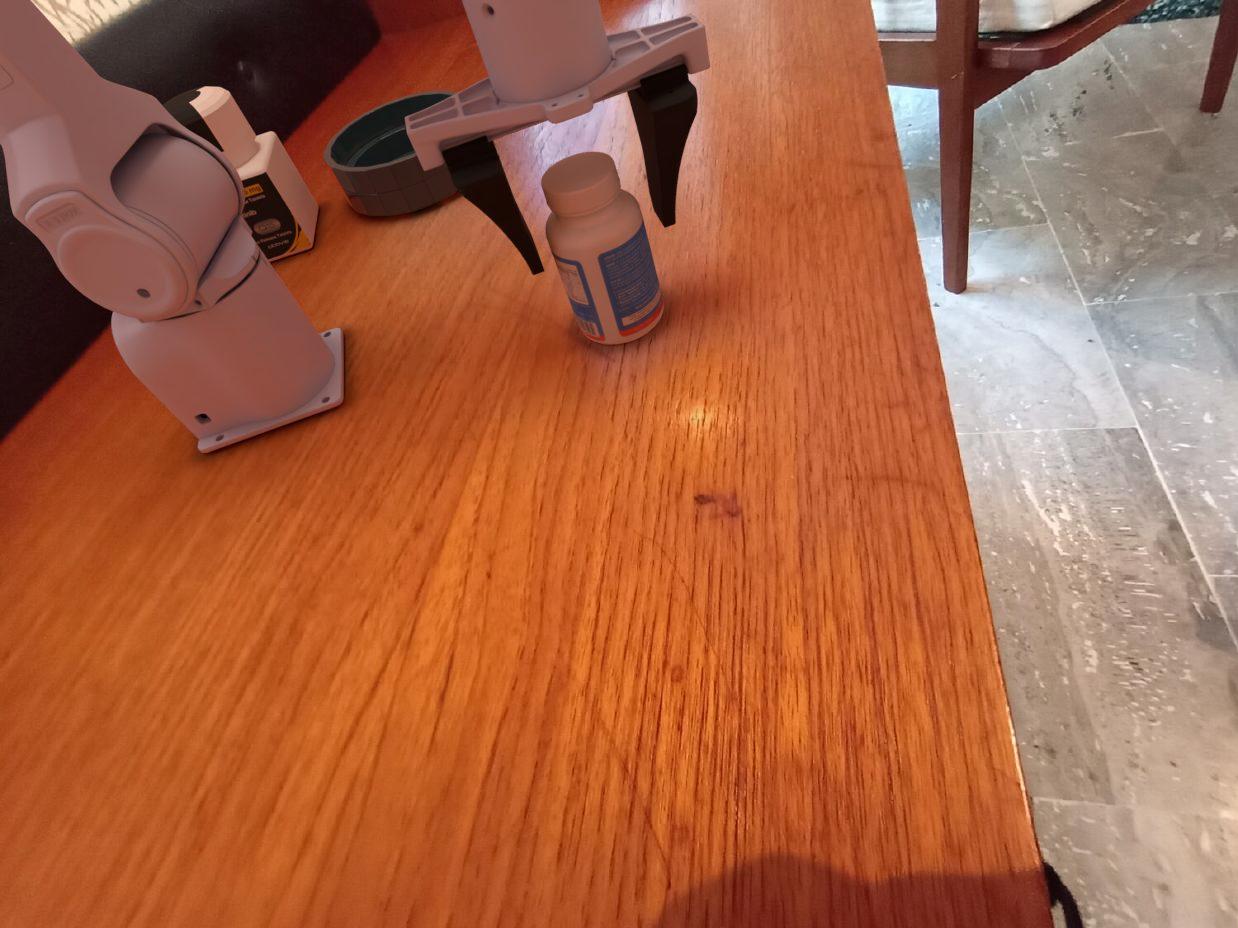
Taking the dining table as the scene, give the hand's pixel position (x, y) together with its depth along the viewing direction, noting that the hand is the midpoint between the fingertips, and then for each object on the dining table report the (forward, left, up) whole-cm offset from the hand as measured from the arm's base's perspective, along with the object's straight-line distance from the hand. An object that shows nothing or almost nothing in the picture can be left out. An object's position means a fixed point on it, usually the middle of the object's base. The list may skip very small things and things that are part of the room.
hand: (600, 241), depth 41 cm
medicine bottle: (-24, +26, -6) cm, 36 cm away
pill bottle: (0, 0, -6) cm, 6 cm away
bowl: (-11, +28, -6) cm, 31 cm away
